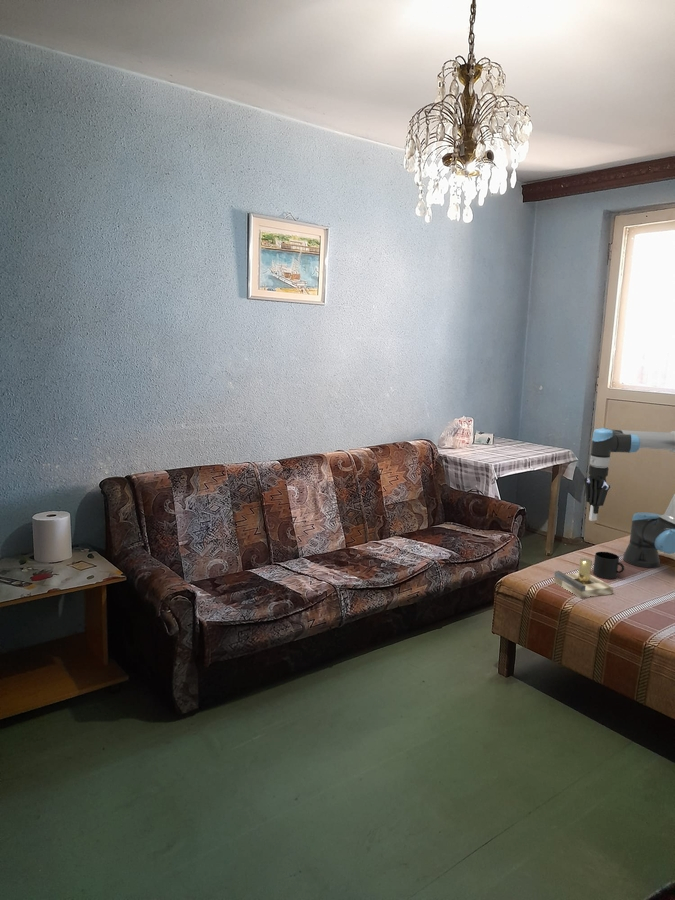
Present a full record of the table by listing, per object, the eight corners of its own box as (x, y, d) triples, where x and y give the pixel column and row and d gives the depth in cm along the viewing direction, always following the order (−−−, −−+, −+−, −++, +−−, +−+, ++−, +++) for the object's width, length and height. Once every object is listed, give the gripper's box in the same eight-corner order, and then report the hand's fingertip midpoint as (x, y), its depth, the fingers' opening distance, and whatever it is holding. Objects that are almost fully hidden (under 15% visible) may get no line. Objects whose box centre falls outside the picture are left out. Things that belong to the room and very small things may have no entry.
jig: (585, 578, 270) (586, 567, 269) (612, 593, 255) (614, 582, 254) (553, 582, 264) (555, 571, 264) (580, 598, 250) (581, 586, 249)
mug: (620, 583, 267) (622, 562, 265) (590, 575, 273) (592, 555, 272) (625, 576, 274) (627, 556, 272) (596, 569, 281) (598, 549, 279)
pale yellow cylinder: (583, 585, 262) (586, 558, 260) (590, 589, 258) (594, 561, 256) (574, 586, 261) (577, 559, 259) (582, 590, 257) (585, 562, 255)
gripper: (581, 462, 270) (575, 516, 275) (603, 469, 258) (596, 525, 263) (595, 462, 273) (589, 515, 277) (617, 469, 261) (610, 524, 265)
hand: (592, 520), depth 270 cm, fingers closed
